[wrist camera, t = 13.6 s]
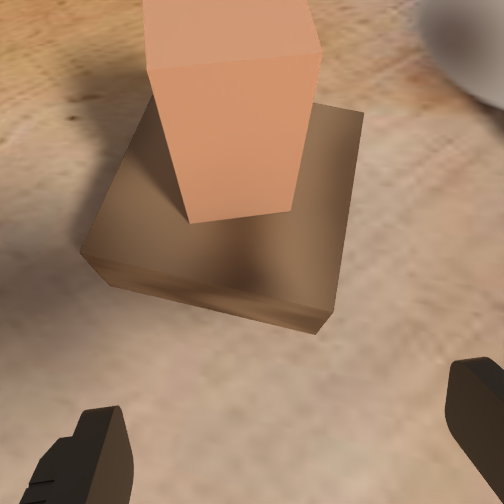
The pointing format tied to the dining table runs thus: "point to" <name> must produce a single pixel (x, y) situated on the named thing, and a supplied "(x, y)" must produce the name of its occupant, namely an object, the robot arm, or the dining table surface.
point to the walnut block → (231, 231)
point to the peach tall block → (233, 99)
